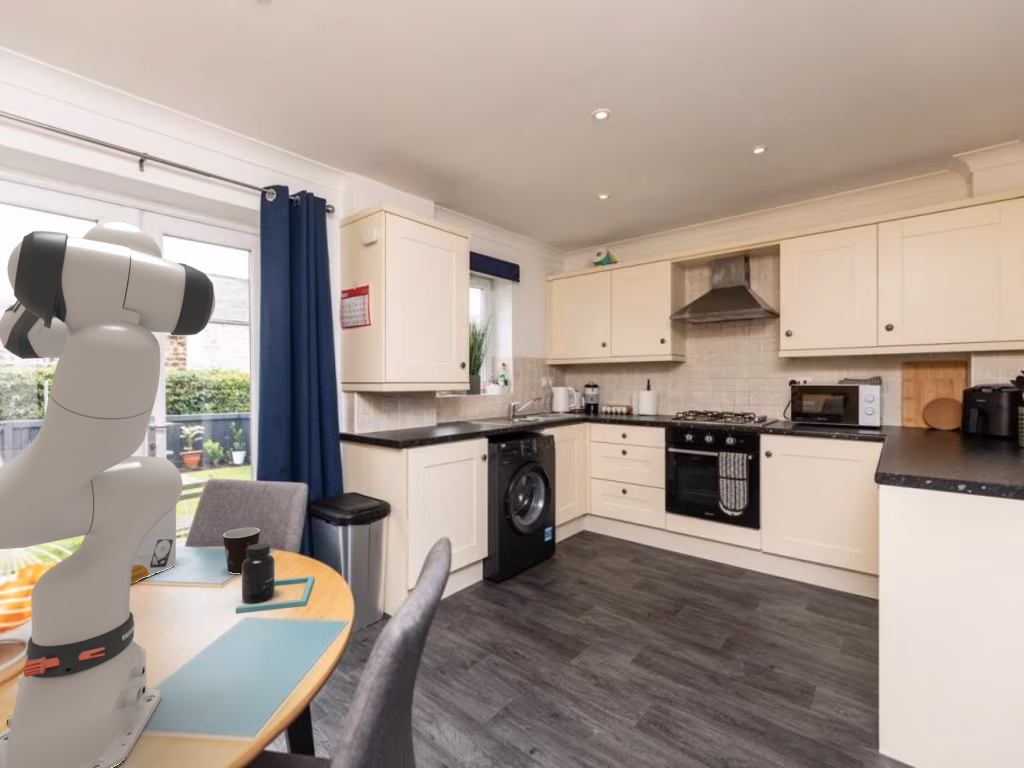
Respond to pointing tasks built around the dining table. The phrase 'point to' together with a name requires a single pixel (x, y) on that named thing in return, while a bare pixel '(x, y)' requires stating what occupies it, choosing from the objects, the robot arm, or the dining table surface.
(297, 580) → the teal frame
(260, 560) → the supplement bottle
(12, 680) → the dining table surface
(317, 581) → the dining table surface
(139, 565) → the hard drive box
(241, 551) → the coffee mug
